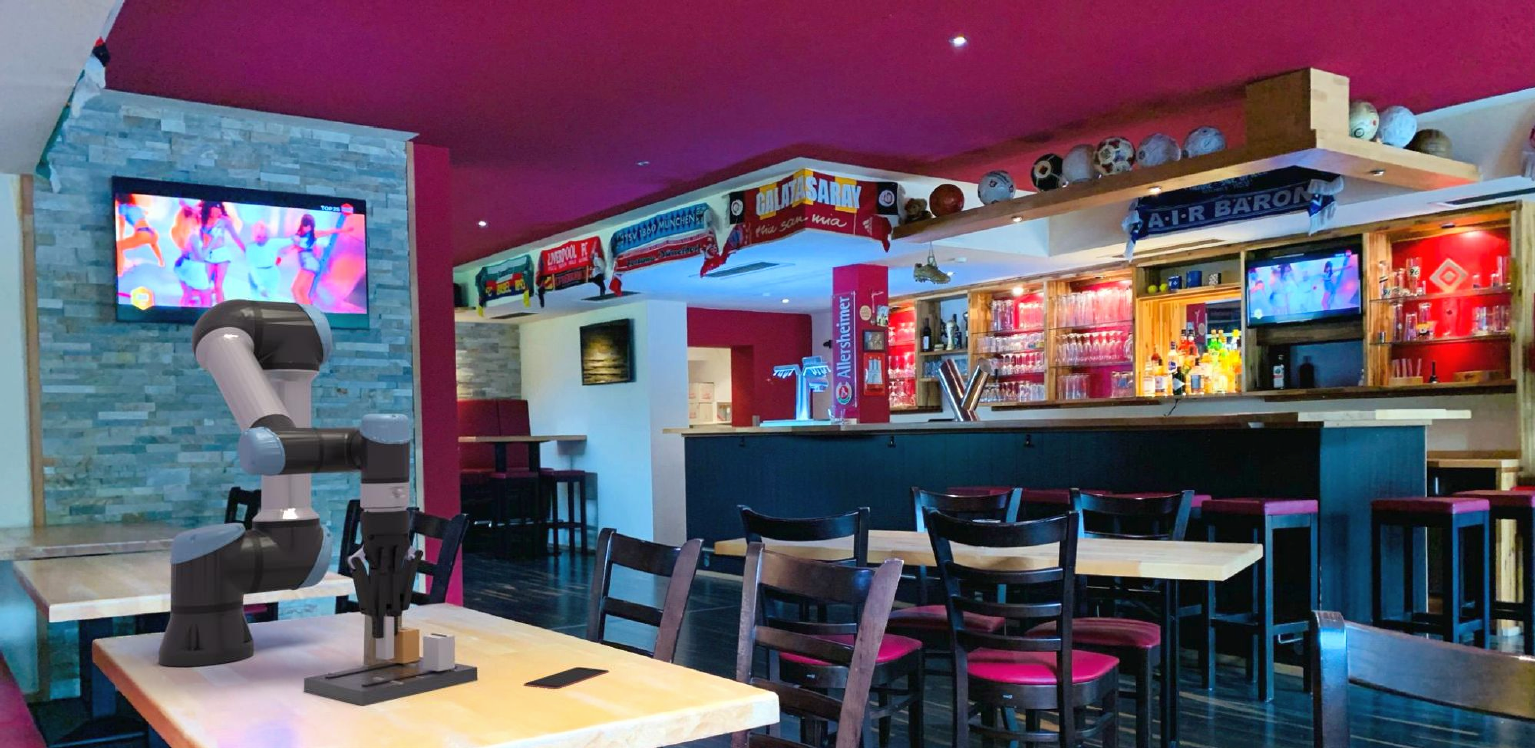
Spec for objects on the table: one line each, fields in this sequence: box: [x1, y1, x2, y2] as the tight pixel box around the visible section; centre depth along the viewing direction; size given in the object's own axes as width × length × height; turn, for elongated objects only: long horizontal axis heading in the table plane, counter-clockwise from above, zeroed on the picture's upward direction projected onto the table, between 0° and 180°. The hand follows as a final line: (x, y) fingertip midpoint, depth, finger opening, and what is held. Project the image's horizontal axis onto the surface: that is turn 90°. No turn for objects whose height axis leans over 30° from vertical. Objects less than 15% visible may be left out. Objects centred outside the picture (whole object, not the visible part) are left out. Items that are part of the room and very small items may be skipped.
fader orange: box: [389, 626, 420, 663], centre depth 179 cm, size 4×3×5 cm
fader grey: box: [422, 632, 456, 671], centre depth 172 cm, size 4×3×5 cm
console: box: [303, 656, 478, 707], centre depth 171 cm, size 17×20×2 cm
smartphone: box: [523, 666, 610, 690], centre depth 174 cm, size 7×1×14 cm
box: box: [363, 614, 403, 666], centre depth 187 cm, size 5×4×11 cm
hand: (385, 657), depth 176 cm, fingers closed
